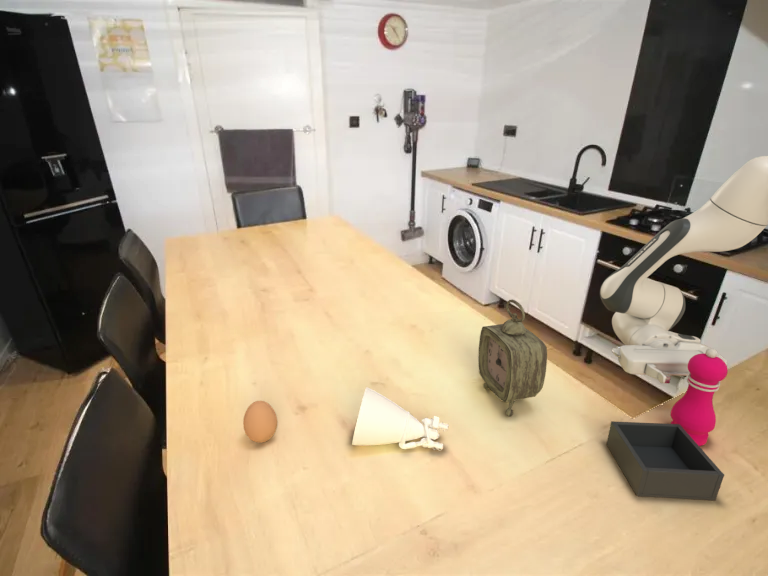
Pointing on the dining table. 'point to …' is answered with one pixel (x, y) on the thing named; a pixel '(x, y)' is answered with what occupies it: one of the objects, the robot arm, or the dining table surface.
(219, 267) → the dining table surface
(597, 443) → the dining table surface
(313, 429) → the dining table surface
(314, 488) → the dining table surface
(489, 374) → the tabletop clock
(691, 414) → the pepper mill
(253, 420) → the egg
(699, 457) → the bin
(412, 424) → the rocket engine
